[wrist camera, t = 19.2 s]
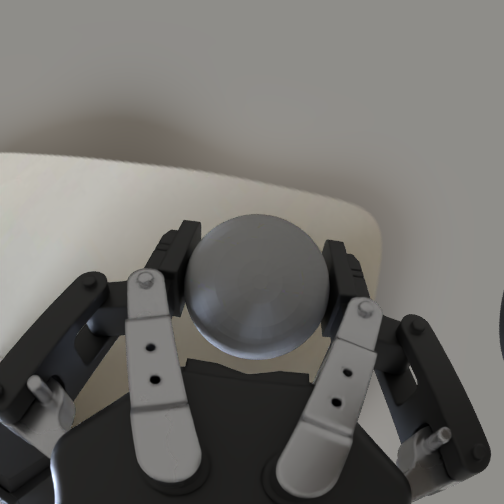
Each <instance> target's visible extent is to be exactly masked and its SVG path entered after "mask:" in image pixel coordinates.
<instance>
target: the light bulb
mask: <svg viewBox="0 0 504 504" xmlns="http://www.w3.org/2000/svg"><path fill="white" fill-rule="evenodd" d="M329 294H330V280H329V273H328V269H327V265H326V262H325V260H324V257H323V255H322V253H321V251H320V250H319V248H318V247H317V245H316V244H315V242H314V241H313V240H312V239H311V238H310V237H309V236H308V235H307V234H306V233H305V232H304V231H303V230H301V229H300V228H299V227H297V226H296V225H294V224H292V223H290V222H288V221H286V220H284V219H281V218H278V217H274V216H270V215H261V214H251V215H244V216H239V217H236V218H233V219H230V220H227V221H225V222H223V223H221V224H220V225H218V226H216V227H215V228H214V229H212V230H211V231H210V232H209V233H207V234H206V235H205V236H204V237H203V238H202V240H201V241H200V242H199V243H198V245H197V246H196V248H195V249H194V251H193V253H192V255H191V257H190V259H189V262H188V264H187V268H186V272H185V278H184V296H185V302H186V306H187V309H188V312H189V315H190V317H191V319H192V321H193V323H194V325H195V326H196V328H197V329H198V330H199V332H200V333H201V334H202V335H203V336H204V338H206V339H207V340H208V341H209V342H210V343H211V344H212V345H214V346H215V347H217V348H218V349H220V350H222V351H223V352H226V353H228V354H230V355H233V356H236V357H240V358H244V359H254V360H260V359H270V358H274V357H278V356H281V355H284V354H286V353H288V352H290V351H292V350H294V349H296V348H297V347H299V346H300V345H301V344H303V343H304V342H305V341H306V340H307V339H308V338H309V337H310V336H311V335H312V334H313V333H314V332H315V330H316V329H317V327H318V326H319V324H320V323H321V321H322V319H323V317H324V314H325V312H326V309H327V305H328V301H329Z"/></svg>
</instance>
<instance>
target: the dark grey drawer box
mask: <svg viewBox="0 0 504 504" xmlns="http://www.w3.org/2000/svg"><path fill="white" fill-rule="evenodd" d="M0 504H55V489H54V482H53V478H52V473H51V465H50V466H49V467H48V468H46V469H45V470H43V471H42V472H41V473H39V474H38V475H37V476H35V477H34V478H32V479H31V480H30V481H28V482H27V483H25V484H24V485H23V486H21V487H20V488H18V489H17V490H15V491H14V492H12V493H11V492H9V493H8V492H6V491H5V490H4V489H2V488H1V487H0Z"/></svg>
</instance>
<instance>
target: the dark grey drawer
mask: <svg viewBox="0 0 504 504" xmlns="http://www.w3.org/2000/svg"><path fill="white" fill-rule="evenodd" d="M50 461H51V459H50V458H48V457H47V456H46V455H45V454H43V453H42V452H41V451H39V450H38V449H37V448H36V447H35V446H33V445H31V444H29V443H28V442H26V441H25V440H24V439H22V438H21V437H19V436H17V435H16V434H14V433H13V432H12V431H11V430H9V429H8V428H7V427H6V426H5V425H3V424H2V423H1V422H0V487H1V488H2V489H4V490H5V491H6V492H8V493H9V492H11V493H12V492H14V491H15V490H17V489H18V488H20V487H21V486H23V485H24V484H25V483H27V482H28V481H30V480H31V479H32V478H34V477H35V476H37V475H38V474H39V473H41V472H42V471H43V470H45V469H46V468H48V467H49V466H50V465H51V462H50Z"/></svg>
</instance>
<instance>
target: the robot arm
mask: <svg viewBox="0 0 504 504" xmlns="http://www.w3.org/2000/svg"><path fill="white" fill-rule="evenodd" d="M200 241H201V222H196V221H188V220H184V221H183V222H182V224H181V226H180V228H179V230H170V231H168V232H167V233H166V234H164V235H163V236H162V238H161V240H160V241H159V244H158V245H157V246H156V248H155V250H154V251H153V253H152V255H151V257H150V258H149V260H148V262H147V264H146V265H145V267H144V269H139V270H137V271H135V272H133V273H132V274H131V275H130V276H129V278H128V280H127V281H122V282H107V278H106V276H105V275H104V274H102V273H100V272H96V271H92V272H87V273H84V274H82V275H80V276H79V277H78V278H77V279H76V280H75V281H74V282H73V283H72V284H71V285H70V286H69V287H68V288H67V289H66V290H65V291H64V292H63V293H62V294H61V295H60V296H59V297H58V298H57V299H56V300H55V301H54V302H53V303H52V304H51V305H50V306H49V307H48V308H47V310H46V311H45V312H44V313H43V314H42V315H41V316H40V317H39V318H38V319H37V320H36V321H35V323H34V324H33V325H32V326H31V327H30V328H29V329H28V330H27V332H26V333H25V334H24V335H23V336H22V337H21V338H20V340H19V341H18V342H17V343H16V344H15V345H14V347H13V348H12V349H11V350H10V351H9V353H8V354H7V355H6V356H5V357H4V359H3V360H2V361H1V362H0V422H1V423H2V424H3V425H5V426H6V427H7V428H8V429H9V430H11V431H12V432H13V433H14V434H16V435H17V436H19V437H21V438H22V439H24V440H25V441H26V442H28V443H29V444H31V445H33V446H35V447H36V448H37V449H38V450H39V451H41V452H42V453H43V454H45V455H46V456H47V457H48V458H50V459H51V461H50V462H51V473H52V478H53V482H54V489H55V504H411V503H412V502H414V501H416V500H419V499H421V498H423V497H425V496H429V495H433V494H435V493H438V492H440V491H443V490H445V489H447V488H449V487H452V486H454V485H456V484H458V483H460V482H462V481H464V480H466V479H468V478H470V477H472V476H474V475H476V474H478V473H480V472H482V471H483V470H484V469H485V468H486V467H487V466H488V464H489V462H490V457H491V450H490V446H489V444H488V442H487V439H486V436H485V434H484V432H483V429H482V427H481V424H480V422H479V420H478V418H477V415H476V413H475V411H474V409H473V406H472V404H471V402H470V400H469V398H468V396H467V394H466V392H465V390H464V388H463V386H462V384H461V382H460V380H459V378H458V376H457V374H456V372H455V370H454V368H453V366H452V364H451V362H450V360H449V359H448V357H447V355H446V353H445V351H444V349H443V347H442V346H441V344H440V342H439V340H438V339H437V337H436V335H435V333H434V332H433V330H432V328H431V327H430V325H429V323H428V322H427V321H426V320H425V319H423V318H422V317H420V316H417V315H412V314H409V315H406V316H405V317H403V319H402V321H401V322H400V321H397V320H394V319H391V318H389V317H386V316H384V315H383V313H382V309H381V307H380V306H379V305H378V304H377V303H376V302H375V301H373V300H372V299H370V296H369V292H368V289H367V285H366V282H365V279H364V276H363V272H362V269H361V266H360V263H359V261H358V260H357V259H356V258H355V257H354V255H352V254H347V253H346V249H345V246H344V243H343V242H340V241H334V240H326V242H325V244H324V248H323V251H322V255H323V257H324V260H325V262H326V265H327V269H328V273H329V280H330V294H329V301H328V305H327V309H326V312H325V314H324V317H323V319H322V321H321V328H322V336H323V337H331V343H330V346H329V348H328V350H327V352H326V355H325V357H324V359H323V361H322V364H321V366H320V368H319V370H318V373H317V375H316V377H315V379H314V381H313V383H309V374H306V373H294V372H283V371H277V372H268V373H259V374H245V373H242V372H239V371H236V370H234V369H231V368H228V367H226V366H223V365H220V364H218V363H213V362H207V361H201V360H195V359H189V358H187V362H186V366H185V367H180V364H179V359H178V354H177V349H176V344H175V339H174V333H173V328H172V322H171V319H172V316H176V317H181V314H182V311H183V308H184V305H185V296H184V278H185V272H186V268H187V264H188V262H189V259H190V257H191V255H192V253H193V251H194V249H195V248H196V246H197V245H198V243H199V242H200ZM85 324H86V325H85ZM84 325H85V326H84ZM83 326H84V327H83ZM80 330H81V331H80ZM79 331H80V332H79ZM78 332H79V333H78ZM76 335H77V336H76ZM120 335H125V337H126V356H127V370H128V382H129V392H128V393H127V394H125V395H124V396H122V397H121V398H119V399H118V400H116V401H114V402H113V403H111V404H110V405H108V406H107V407H105V408H104V409H102V410H101V411H99V412H97V413H96V414H94V415H93V416H91V417H90V418H88V419H86V420H85V421H83V422H82V423H80V424H79V425H77V426H75V427H74V428H72V429H71V425H72V424H73V421H74V417H75V411H76V410H75V405H74V402H73V401H74V400H75V398H76V397H77V395H78V394H79V392H80V391H81V389H82V388H83V387H84V385H85V384H86V382H87V381H88V379H89V378H90V376H91V375H92V374H93V372H94V371H95V369H96V368H97V366H98V365H99V364H100V362H101V361H102V359H103V358H104V357H105V355H106V354H107V352H108V351H109V350H110V348H111V347H112V346H113V344H114V343H115V341H116V340H117V339H118V337H119V336H120ZM410 365H411V367H412V370H413V372H414V374H415V376H416V379H417V383H418V385H416V382H415V380H414V378H413V376H412V373H411V371H410V369H409V366H410ZM373 369H374V371H375V373H376V376H377V379H378V381H379V384H380V386H381V389H382V392H383V394H384V397H385V400H386V402H387V405H388V408H389V410H390V413H391V416H392V419H393V421H394V424H395V427H396V430H397V433H398V436H399V439H400V442H401V446H400V448H399V450H398V458H397V461H396V465H397V466H396V465H395V464H394V463H393V461H392V460H391V459H390V458H389V457H388V456H387V455H386V454H385V453H384V452H383V450H382V449H381V448H380V447H379V446H378V445H377V444H376V443H375V442H374V440H373V439H372V438H371V437H370V436H369V435H368V434H367V433H366V432H365V430H364V429H363V428H362V427H361V426H360V425H359V424H358V422H357V421H358V418H359V415H360V412H361V409H362V405H363V403H364V399H365V396H366V393H367V390H368V386H369V382H370V379H371V376H372V372H373Z"/></svg>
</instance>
